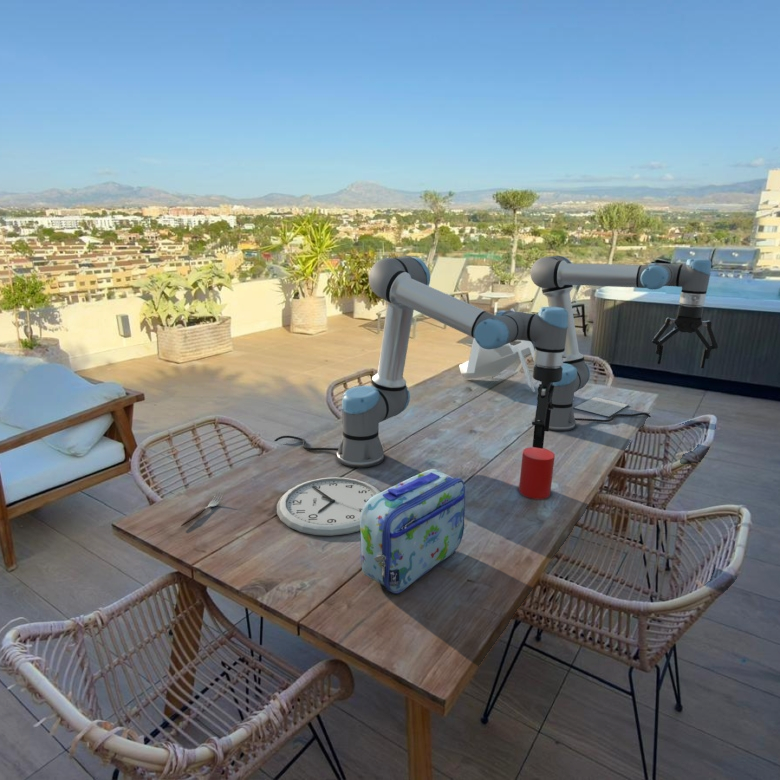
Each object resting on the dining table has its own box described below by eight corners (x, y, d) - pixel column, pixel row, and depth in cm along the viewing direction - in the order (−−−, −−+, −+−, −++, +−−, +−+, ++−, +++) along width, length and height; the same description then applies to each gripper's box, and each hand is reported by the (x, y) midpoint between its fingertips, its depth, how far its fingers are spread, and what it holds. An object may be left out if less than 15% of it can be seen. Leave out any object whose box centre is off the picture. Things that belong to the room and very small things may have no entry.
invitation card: (608, 416, 214) (573, 407, 224) (608, 416, 214) (573, 408, 224) (628, 404, 229) (594, 396, 238) (628, 405, 229) (594, 397, 238)
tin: (513, 492, 152) (517, 454, 148) (526, 481, 158) (530, 444, 154) (542, 502, 146) (547, 462, 143) (554, 490, 153) (559, 452, 149)
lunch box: (388, 606, 105) (390, 514, 99) (353, 580, 112) (353, 493, 106) (468, 553, 123) (474, 472, 116) (433, 534, 130) (437, 457, 124)
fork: (176, 526, 131) (176, 519, 130) (217, 497, 145) (217, 491, 145) (185, 528, 130) (184, 521, 130) (225, 499, 145) (224, 492, 144)
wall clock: (392, 527, 129) (268, 531, 127) (391, 533, 130) (269, 537, 127) (383, 473, 158) (282, 475, 155) (383, 478, 158) (282, 480, 156)
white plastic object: (480, 421, 262) (459, 398, 238) (462, 347, 285) (440, 320, 260) (552, 397, 250) (537, 370, 226) (527, 322, 272) (511, 290, 248)
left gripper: (558, 378, 128) (549, 457, 135) (566, 356, 151) (558, 425, 157) (527, 375, 131) (520, 452, 137) (539, 354, 153) (533, 422, 159)
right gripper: (651, 304, 180) (641, 363, 187) (735, 309, 171) (722, 371, 178) (650, 301, 187) (640, 359, 193) (731, 306, 178) (718, 366, 184)
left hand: (540, 438), depth 147 cm, fingers open, 13 cm apart
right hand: (679, 365), depth 185 cm, fingers open, 13 cm apart
